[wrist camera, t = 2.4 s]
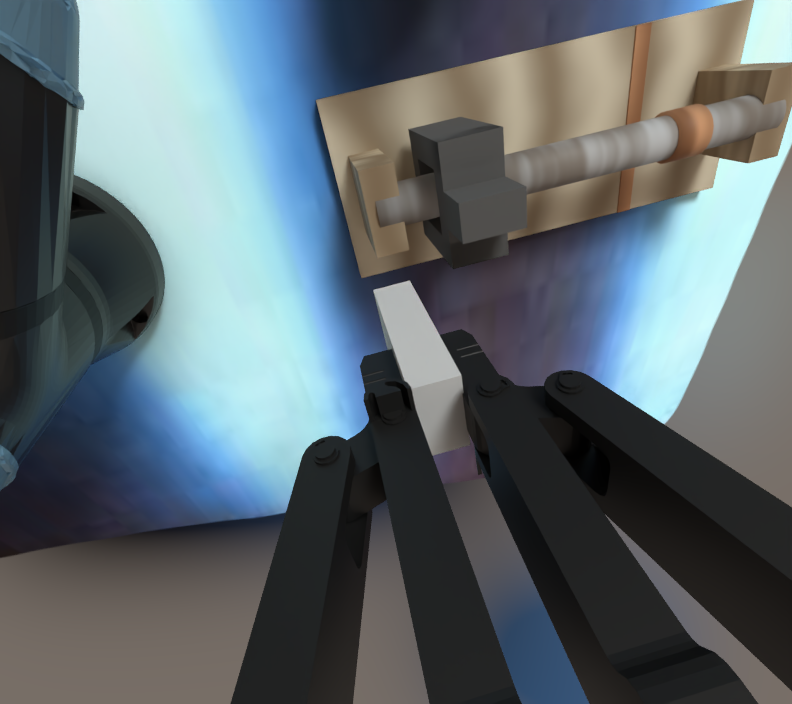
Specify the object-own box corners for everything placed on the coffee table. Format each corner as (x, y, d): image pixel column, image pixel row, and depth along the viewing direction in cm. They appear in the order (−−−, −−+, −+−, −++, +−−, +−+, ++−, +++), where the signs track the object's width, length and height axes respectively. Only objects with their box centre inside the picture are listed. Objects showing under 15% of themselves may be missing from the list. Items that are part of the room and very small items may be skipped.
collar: (424, 233, 36) (467, 286, 27) (408, 129, 31) (453, 149, 22) (470, 222, 36) (527, 270, 27) (460, 116, 32) (525, 132, 23)
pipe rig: (360, 273, 39) (372, 314, 33) (315, 99, 32) (320, 105, 25) (702, 184, 41) (783, 206, 34) (741, 0, 33) (854, -20, 27)
